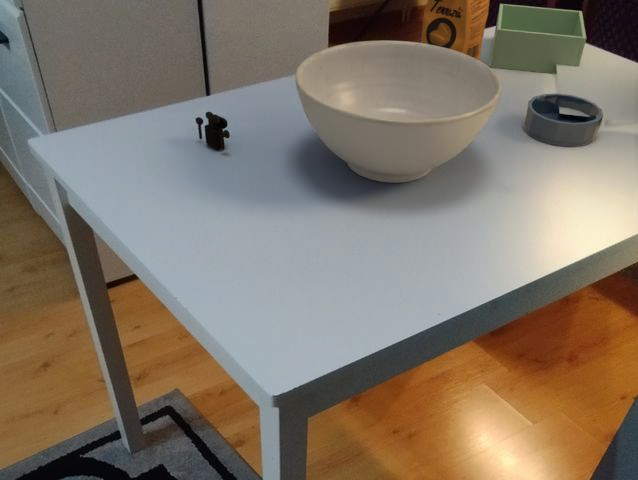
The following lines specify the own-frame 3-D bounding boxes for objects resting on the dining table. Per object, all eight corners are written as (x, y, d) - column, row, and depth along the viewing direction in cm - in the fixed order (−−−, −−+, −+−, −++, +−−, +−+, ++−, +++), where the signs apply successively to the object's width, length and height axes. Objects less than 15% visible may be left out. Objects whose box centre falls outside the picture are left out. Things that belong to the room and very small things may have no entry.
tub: (572, 46, 133) (581, 11, 128) (576, 76, 122) (586, 38, 117) (493, 38, 135) (500, 3, 130) (490, 67, 124) (497, 29, 120)
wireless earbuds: (195, 141, 100) (191, 107, 97) (208, 135, 102) (205, 102, 98) (227, 157, 97) (224, 123, 93) (240, 151, 98) (238, 117, 95)
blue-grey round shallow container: (593, 119, 109) (600, 97, 106) (598, 150, 101) (605, 128, 98) (523, 111, 110) (528, 90, 108) (522, 141, 102) (527, 119, 100)
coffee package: (406, 76, 120) (422, -67, 105) (436, 55, 128) (455, -82, 113) (458, 89, 116) (483, -58, 101) (486, 66, 124) (512, -73, 109)
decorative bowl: (277, 128, 104) (276, 46, 95) (441, 113, 109) (453, 34, 101) (322, 223, 85) (324, 131, 77) (517, 199, 90) (540, 110, 82)
